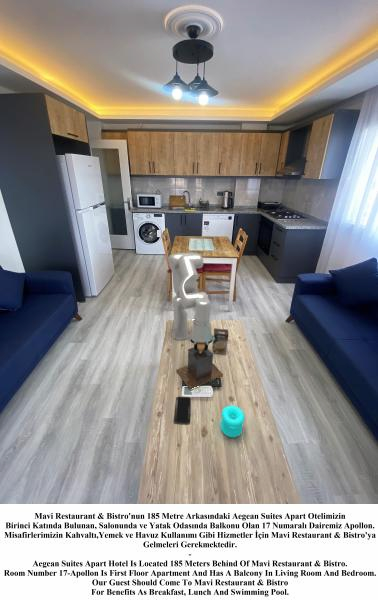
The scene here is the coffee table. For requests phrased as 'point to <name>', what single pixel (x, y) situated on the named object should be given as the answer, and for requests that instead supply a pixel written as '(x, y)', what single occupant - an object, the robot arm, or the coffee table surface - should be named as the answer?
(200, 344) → the plunger
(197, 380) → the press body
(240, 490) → the coffee table surface
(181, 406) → the phone
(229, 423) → the donuts
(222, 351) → the coffee box
